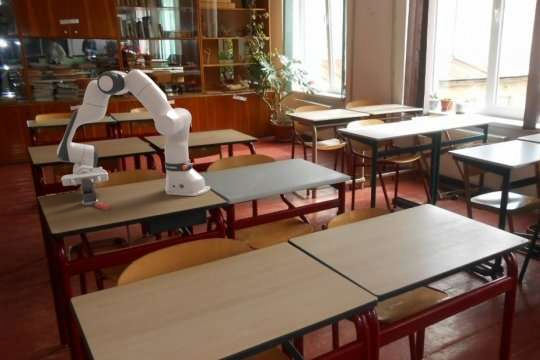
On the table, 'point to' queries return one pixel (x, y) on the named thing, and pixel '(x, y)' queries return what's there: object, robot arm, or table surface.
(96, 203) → the ratchet
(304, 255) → the table surface
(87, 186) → the socket
